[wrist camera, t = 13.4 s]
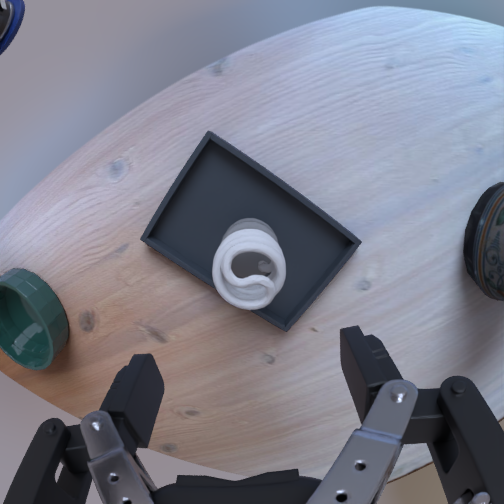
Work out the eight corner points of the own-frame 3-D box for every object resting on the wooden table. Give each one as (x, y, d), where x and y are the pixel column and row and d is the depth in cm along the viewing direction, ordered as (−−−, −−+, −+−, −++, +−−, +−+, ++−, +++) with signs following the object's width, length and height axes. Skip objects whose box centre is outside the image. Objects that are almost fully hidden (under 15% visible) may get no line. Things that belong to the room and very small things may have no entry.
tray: (145, 234, 33) (139, 239, 31) (210, 131, 30) (208, 130, 28) (284, 323, 37) (286, 332, 35) (356, 236, 33) (362, 242, 32)
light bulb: (212, 240, 33) (192, 290, 22) (244, 198, 32) (240, 227, 20) (255, 271, 34) (256, 332, 23) (288, 231, 33) (306, 276, 21)
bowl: (-4, 315, 38) (-21, 329, 33) (8, 248, 34) (-13, 260, 29) (58, 366, 40) (44, 385, 36) (80, 307, 37) (63, 326, 32)
